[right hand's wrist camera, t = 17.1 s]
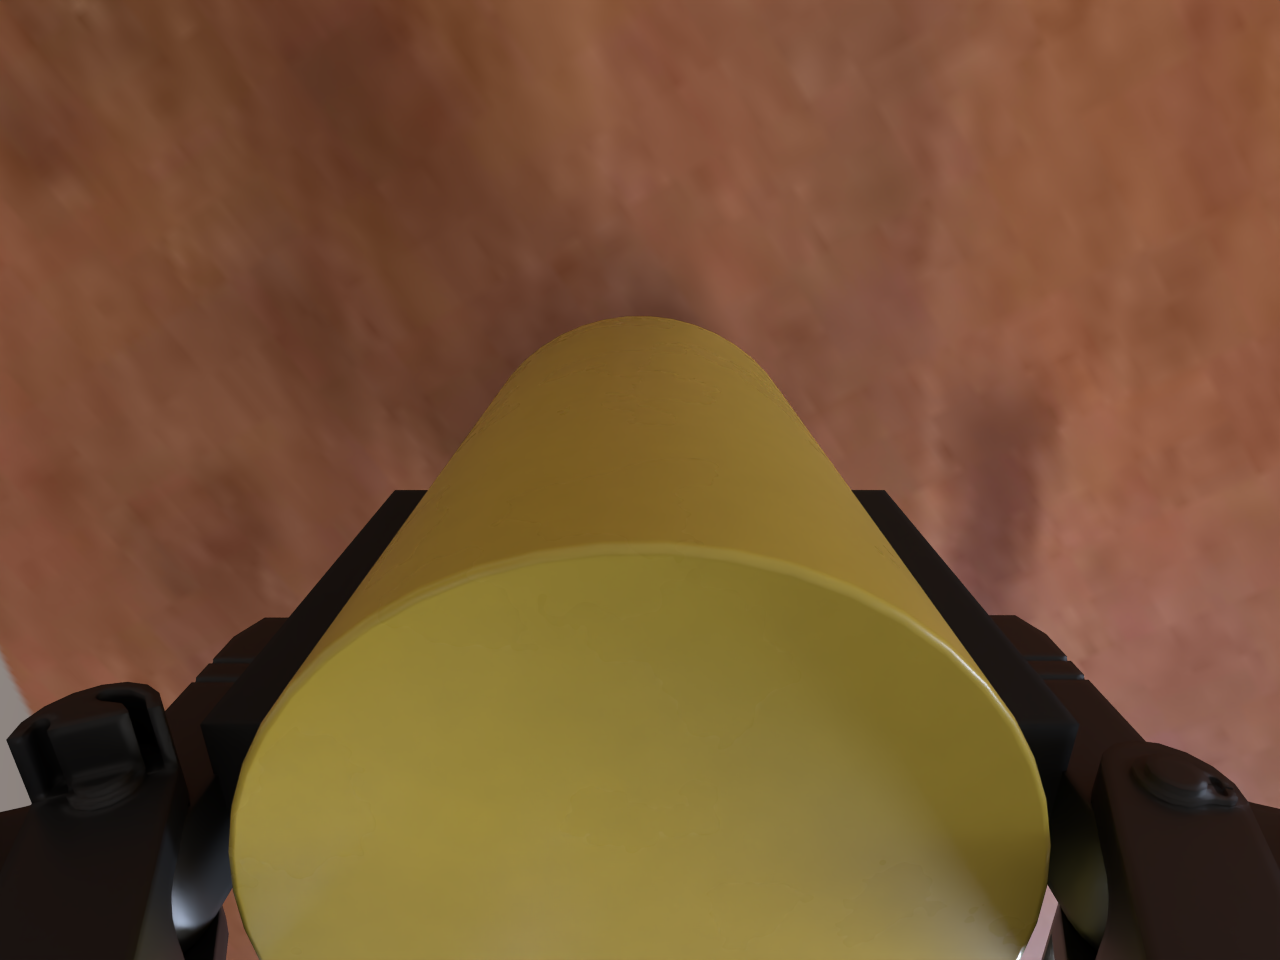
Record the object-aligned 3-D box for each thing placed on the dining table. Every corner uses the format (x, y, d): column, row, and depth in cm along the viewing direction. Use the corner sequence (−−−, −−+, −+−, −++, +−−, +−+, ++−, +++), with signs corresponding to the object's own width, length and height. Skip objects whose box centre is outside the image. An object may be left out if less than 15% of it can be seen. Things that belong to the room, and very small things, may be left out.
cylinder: (777, 282, 16) (1057, 455, 5) (818, 587, 19) (1054, 1103, 8) (437, 354, 16) (65, 642, 6) (526, 639, 19) (386, 1185, 9)
